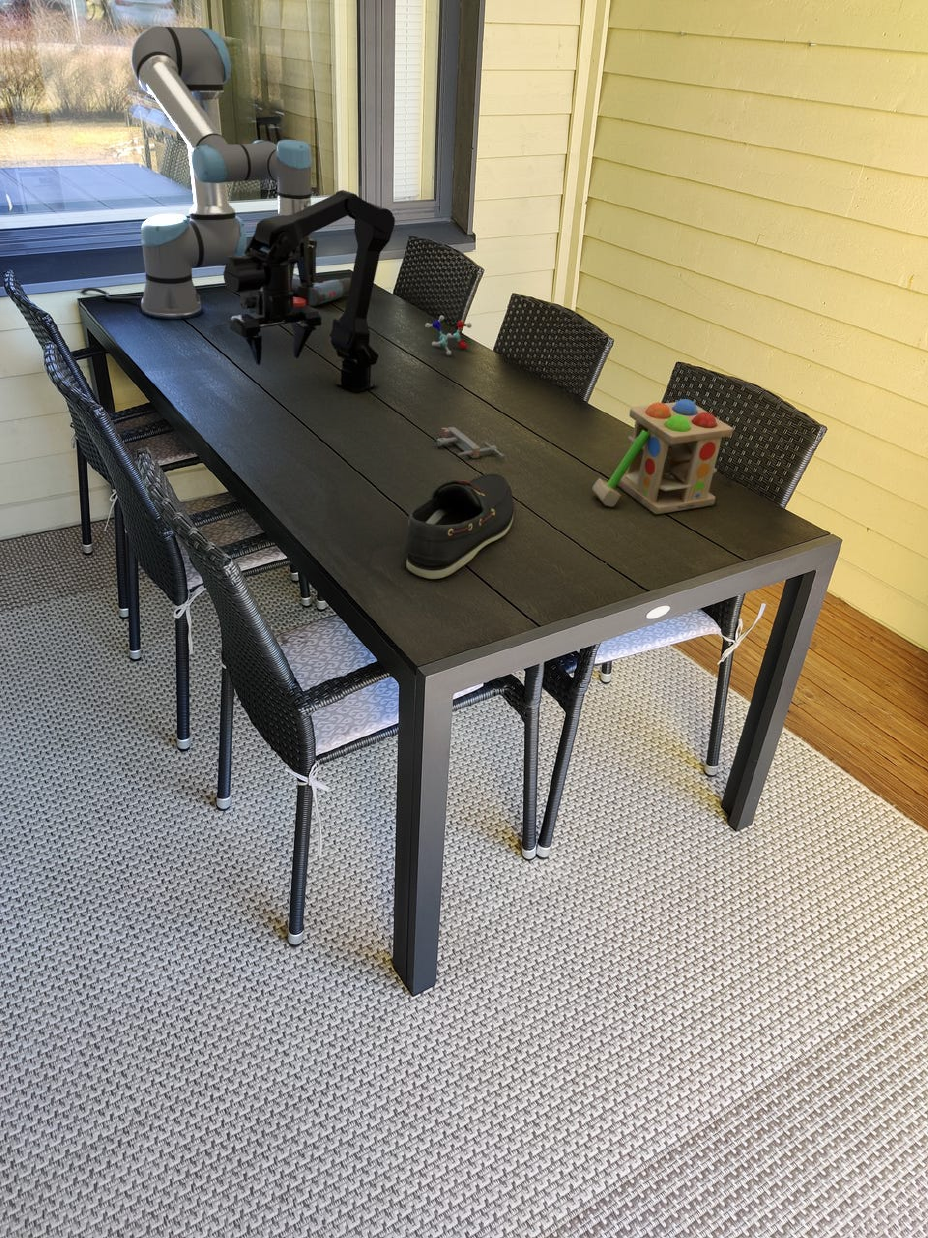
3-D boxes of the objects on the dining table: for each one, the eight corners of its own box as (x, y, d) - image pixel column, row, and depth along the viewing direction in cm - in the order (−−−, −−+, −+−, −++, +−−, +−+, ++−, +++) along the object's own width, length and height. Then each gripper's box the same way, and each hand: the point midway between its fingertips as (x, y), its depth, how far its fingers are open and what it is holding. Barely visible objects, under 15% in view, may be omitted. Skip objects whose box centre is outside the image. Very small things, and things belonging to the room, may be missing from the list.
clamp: (428, 429, 204) (470, 423, 208) (427, 439, 205) (469, 432, 209) (464, 459, 193) (507, 451, 198) (463, 469, 194) (506, 461, 199)
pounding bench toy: (617, 521, 181) (635, 431, 171) (577, 488, 192) (591, 401, 182) (715, 504, 191) (737, 418, 181) (672, 473, 201) (691, 389, 191)
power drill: (307, 279, 292) (360, 295, 284) (264, 292, 279) (319, 308, 271) (307, 261, 289) (361, 276, 281) (263, 272, 276) (319, 289, 268)
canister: (309, 316, 240) (309, 299, 237) (300, 322, 236) (300, 304, 233) (290, 312, 241) (290, 295, 238) (281, 318, 237) (280, 300, 234)
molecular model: (465, 347, 244) (452, 307, 242) (431, 360, 247) (418, 321, 246) (479, 347, 254) (467, 309, 253) (447, 360, 258) (434, 323, 256)
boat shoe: (539, 516, 182) (544, 464, 176) (440, 585, 158) (443, 528, 152) (480, 497, 187) (483, 446, 182) (376, 561, 163) (376, 505, 158)
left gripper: (281, 224, 217) (283, 328, 230) (332, 213, 230) (331, 312, 243) (255, 217, 220) (258, 321, 233) (307, 206, 233) (308, 305, 246)
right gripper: (294, 271, 210) (295, 342, 219) (214, 280, 199) (219, 355, 208) (322, 285, 203) (322, 358, 212) (241, 296, 193) (245, 372, 201)
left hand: (295, 316), depth 238 cm, fingers closed on canister, 5 cm apart
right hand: (277, 360), depth 208 cm, fingers open, 9 cm apart
